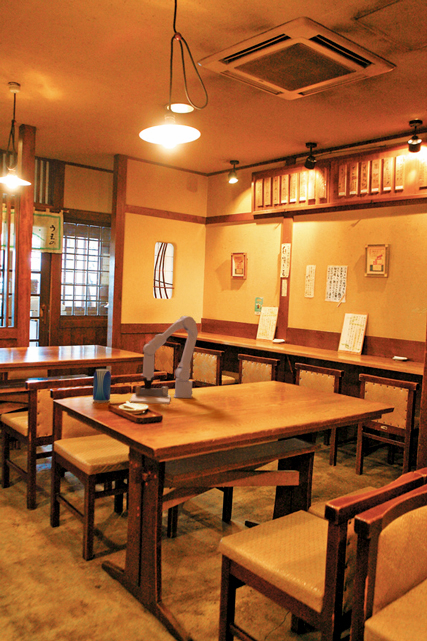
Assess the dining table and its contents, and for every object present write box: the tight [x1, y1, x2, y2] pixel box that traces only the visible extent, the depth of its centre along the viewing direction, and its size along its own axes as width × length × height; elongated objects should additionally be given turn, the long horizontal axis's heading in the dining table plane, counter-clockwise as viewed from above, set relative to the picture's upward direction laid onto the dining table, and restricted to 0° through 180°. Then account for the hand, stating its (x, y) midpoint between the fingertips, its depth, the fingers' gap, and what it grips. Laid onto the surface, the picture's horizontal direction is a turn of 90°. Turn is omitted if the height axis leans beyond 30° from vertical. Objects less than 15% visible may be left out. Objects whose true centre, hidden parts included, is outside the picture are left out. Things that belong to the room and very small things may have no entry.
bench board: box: [129, 393, 171, 405], centre depth 263 cm, size 20×18×1 cm
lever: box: [134, 385, 169, 396], centre depth 267 cm, size 17×4×5 cm, turn 100°
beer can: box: [92, 368, 112, 404], centre depth 252 cm, size 8×8×16 cm
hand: (147, 391), depth 268 cm, fingers closed
